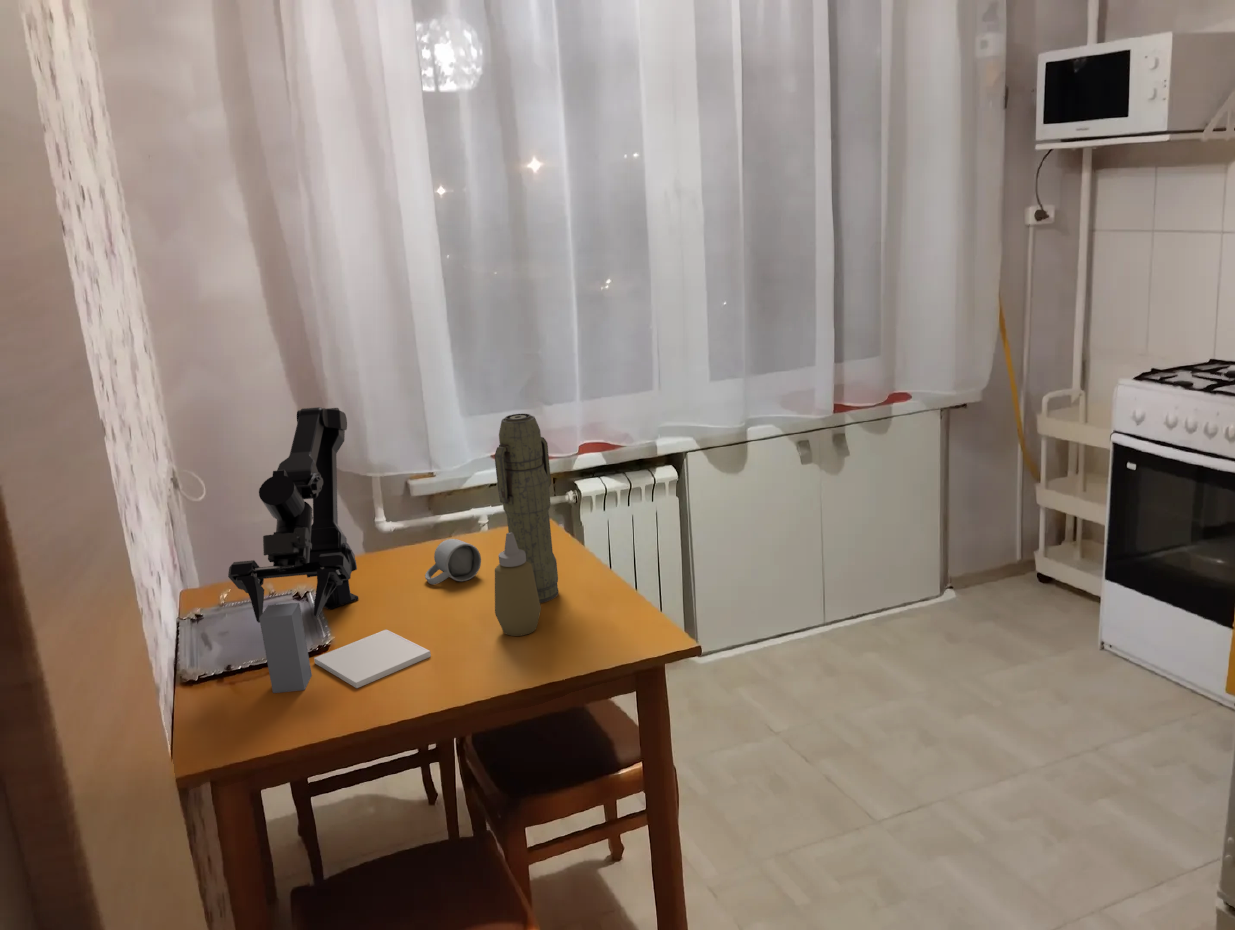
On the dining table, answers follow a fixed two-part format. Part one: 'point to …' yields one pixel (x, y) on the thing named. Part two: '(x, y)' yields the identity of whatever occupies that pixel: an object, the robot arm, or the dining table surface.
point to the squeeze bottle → (515, 591)
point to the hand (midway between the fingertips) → (287, 619)
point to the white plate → (372, 658)
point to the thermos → (527, 496)
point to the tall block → (285, 647)
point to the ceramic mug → (454, 561)
